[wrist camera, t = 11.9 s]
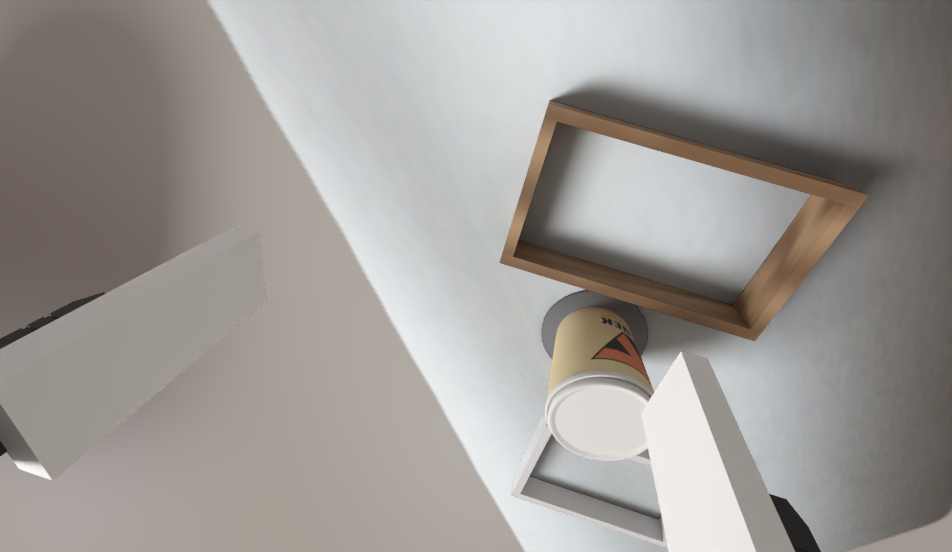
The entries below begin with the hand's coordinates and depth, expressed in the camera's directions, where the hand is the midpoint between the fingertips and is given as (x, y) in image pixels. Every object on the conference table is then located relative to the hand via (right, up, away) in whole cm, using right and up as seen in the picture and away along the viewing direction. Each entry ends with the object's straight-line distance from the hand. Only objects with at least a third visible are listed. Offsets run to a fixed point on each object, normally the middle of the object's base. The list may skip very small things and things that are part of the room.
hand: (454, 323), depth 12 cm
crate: (+17, +7, +24) cm, 30 cm away
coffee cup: (+13, -5, +30) cm, 33 cm away
